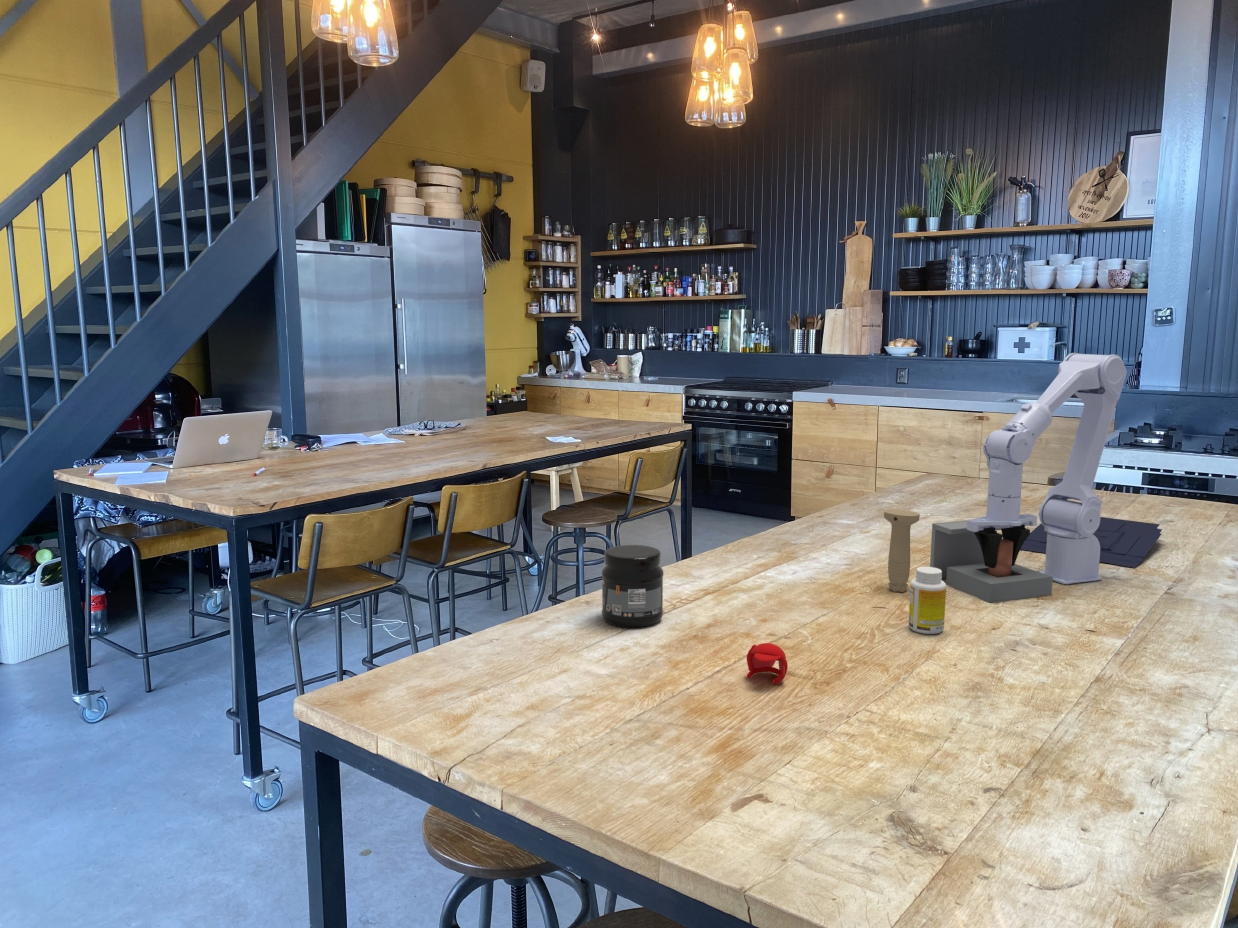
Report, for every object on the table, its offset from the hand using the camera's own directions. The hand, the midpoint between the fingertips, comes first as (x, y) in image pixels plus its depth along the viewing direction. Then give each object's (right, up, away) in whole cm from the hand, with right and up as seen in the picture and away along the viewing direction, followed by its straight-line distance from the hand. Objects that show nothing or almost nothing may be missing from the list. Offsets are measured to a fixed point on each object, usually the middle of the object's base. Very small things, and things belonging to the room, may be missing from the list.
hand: (999, 565), depth 172 cm
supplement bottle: (-21, -8, -21) cm, 31 cm away
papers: (+35, 0, +34) cm, 49 cm away
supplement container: (-69, -8, -16) cm, 72 cm away
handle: (-19, -5, +1) cm, 20 cm away
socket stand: (-1, -4, +3) cm, 5 cm away
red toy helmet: (-51, -12, -42) cm, 67 cm away
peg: (0, -3, 0) cm, 3 cm away
